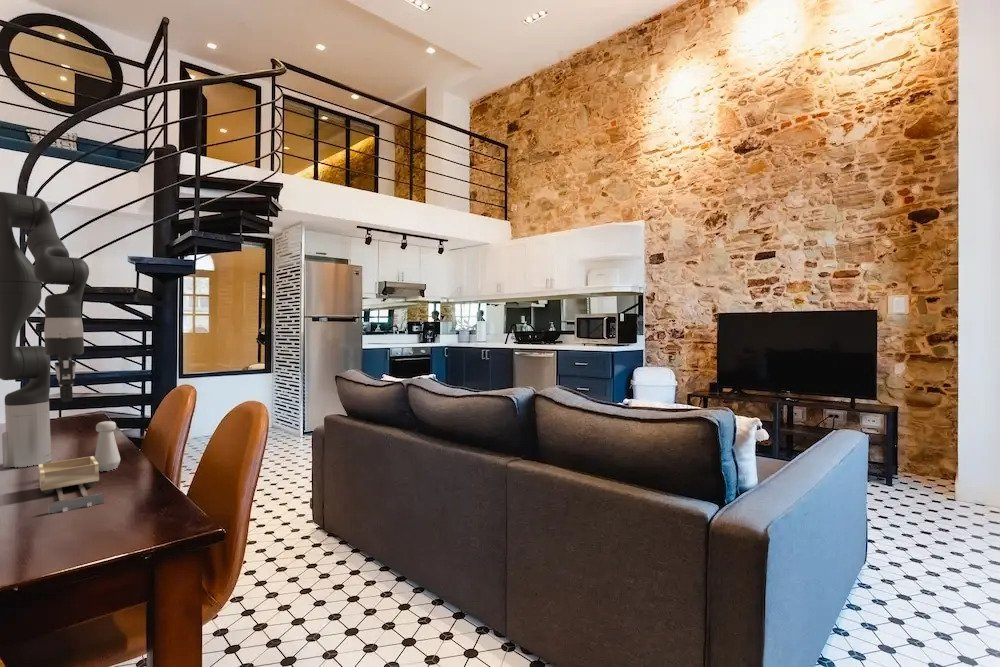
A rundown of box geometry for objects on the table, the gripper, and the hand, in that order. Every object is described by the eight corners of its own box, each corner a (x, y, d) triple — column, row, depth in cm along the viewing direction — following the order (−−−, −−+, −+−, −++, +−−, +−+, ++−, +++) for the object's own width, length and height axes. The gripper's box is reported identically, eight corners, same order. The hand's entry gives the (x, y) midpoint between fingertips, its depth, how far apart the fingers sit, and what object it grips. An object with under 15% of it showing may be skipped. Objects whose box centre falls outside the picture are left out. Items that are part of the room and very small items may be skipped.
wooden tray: (41, 496, 116) (40, 473, 116) (39, 486, 124) (38, 464, 123) (99, 486, 123) (98, 463, 123) (94, 476, 131) (93, 455, 131)
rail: (42, 484, 126) (42, 476, 126) (89, 476, 132) (89, 468, 132) (49, 514, 106) (49, 505, 106) (104, 503, 112) (103, 494, 112)
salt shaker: (126, 467, 141) (124, 419, 140) (108, 473, 135) (106, 424, 135) (106, 466, 141) (105, 419, 141) (88, 472, 136) (86, 423, 135)
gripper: (44, 335, 132) (46, 398, 133) (44, 336, 122) (46, 404, 122) (81, 335, 137) (83, 395, 138) (85, 335, 127) (87, 401, 127)
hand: (66, 399), depth 130 cm, fingers open, 8 cm apart
